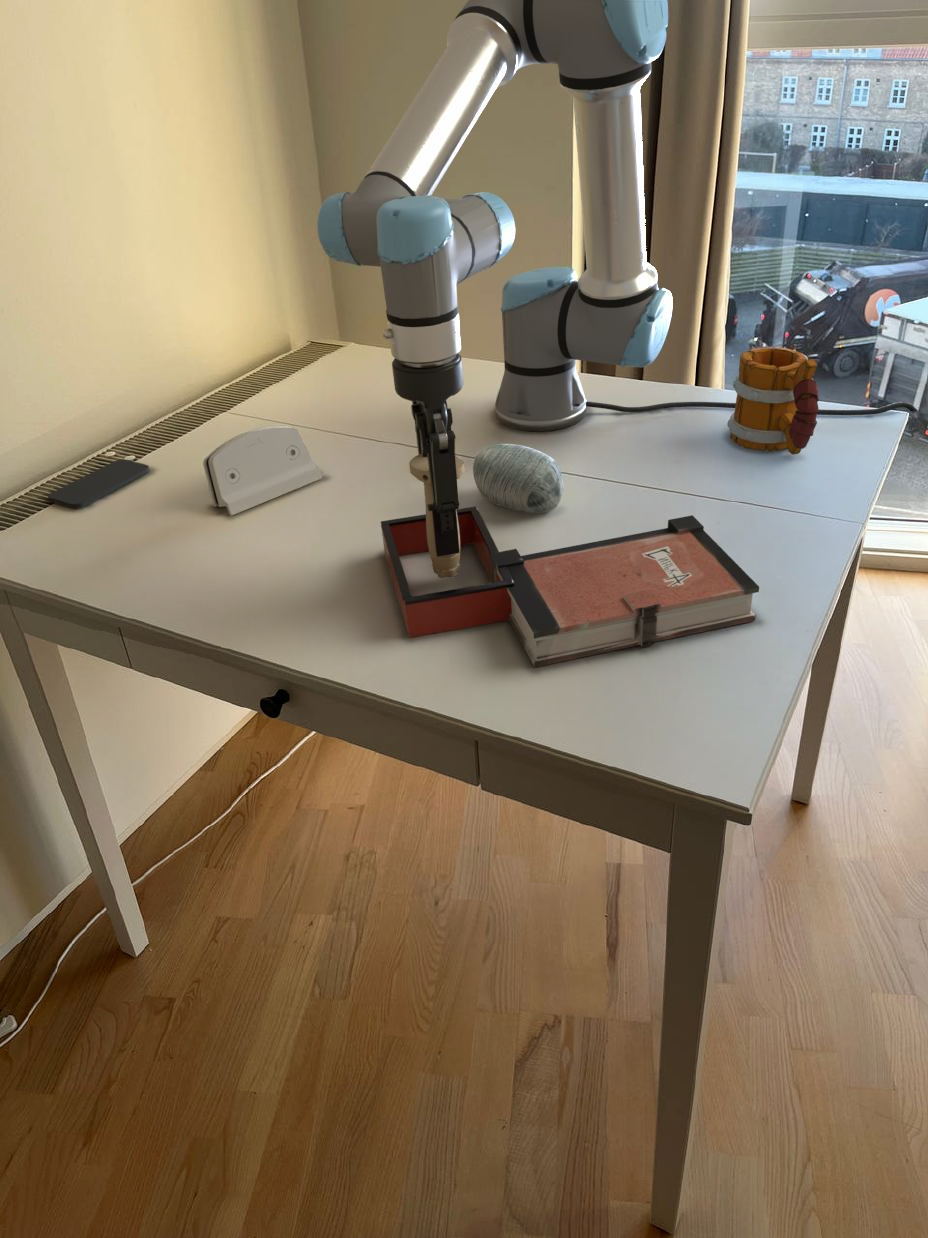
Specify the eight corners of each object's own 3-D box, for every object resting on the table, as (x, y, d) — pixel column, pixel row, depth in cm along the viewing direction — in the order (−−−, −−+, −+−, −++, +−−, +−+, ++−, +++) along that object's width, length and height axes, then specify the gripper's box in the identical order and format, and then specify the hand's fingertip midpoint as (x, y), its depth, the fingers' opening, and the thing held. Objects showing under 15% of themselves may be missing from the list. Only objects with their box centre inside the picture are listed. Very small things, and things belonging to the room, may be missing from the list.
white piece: (229, 516, 137) (203, 449, 134) (216, 516, 141) (190, 451, 138) (324, 477, 146) (302, 413, 143) (309, 478, 150) (287, 416, 147)
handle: (436, 557, 121) (425, 449, 113) (479, 569, 118) (471, 459, 110) (414, 576, 118) (401, 465, 109) (458, 588, 115) (448, 476, 106)
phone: (152, 465, 152) (76, 505, 142) (153, 470, 152) (78, 510, 142) (120, 457, 155) (44, 496, 145) (121, 462, 156) (45, 500, 145)
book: (536, 671, 103) (535, 633, 100) (492, 588, 117) (490, 553, 114) (758, 623, 108) (763, 586, 105) (689, 549, 122) (692, 515, 119)
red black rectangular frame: (478, 539, 128) (476, 505, 125) (516, 619, 112) (515, 583, 109) (384, 554, 126) (379, 521, 123) (408, 638, 110) (404, 602, 107)
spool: (587, 480, 132) (552, 429, 126) (551, 533, 130) (514, 483, 124) (520, 474, 143) (485, 427, 137) (486, 523, 140) (448, 476, 134)
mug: (773, 418, 154) (784, 325, 145) (837, 457, 141) (854, 358, 132) (713, 430, 151) (722, 337, 143) (773, 472, 138) (786, 371, 130)
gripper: (380, 335, 109) (402, 516, 122) (404, 388, 95) (426, 585, 108) (444, 326, 110) (459, 506, 123) (478, 377, 96) (490, 574, 109)
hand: (444, 543), depth 116 cm, fingers closed on handle, 4 cm apart
